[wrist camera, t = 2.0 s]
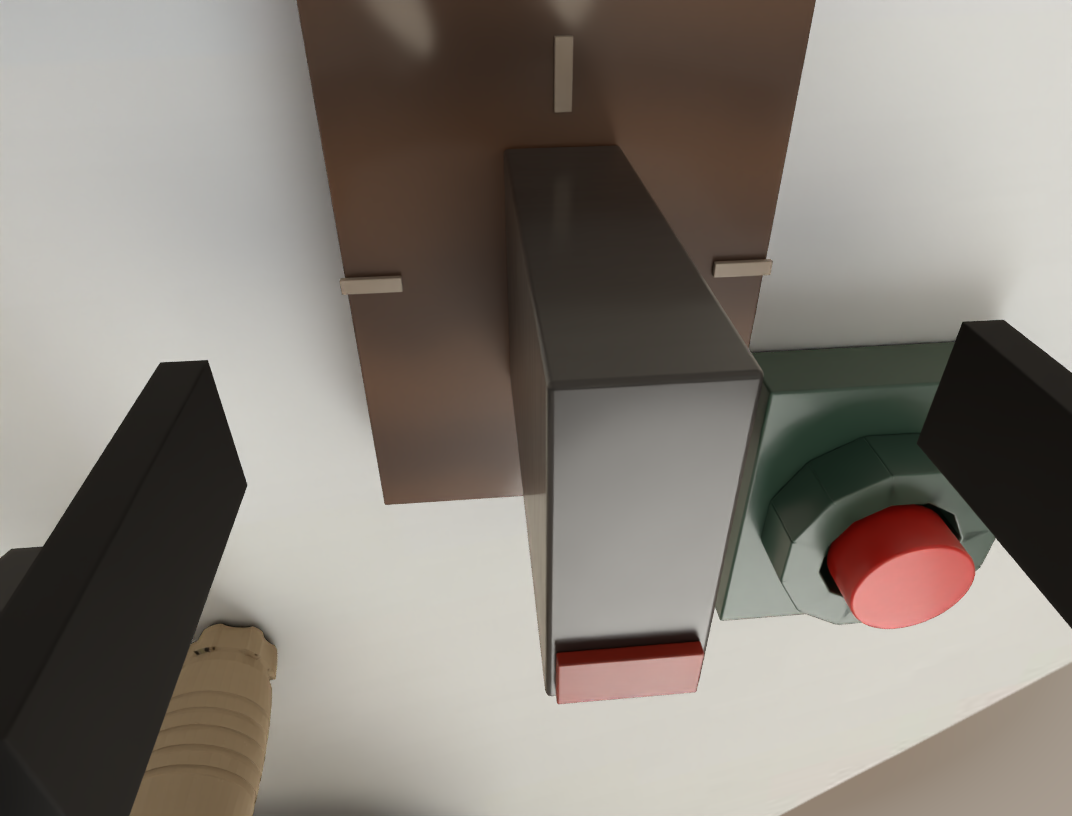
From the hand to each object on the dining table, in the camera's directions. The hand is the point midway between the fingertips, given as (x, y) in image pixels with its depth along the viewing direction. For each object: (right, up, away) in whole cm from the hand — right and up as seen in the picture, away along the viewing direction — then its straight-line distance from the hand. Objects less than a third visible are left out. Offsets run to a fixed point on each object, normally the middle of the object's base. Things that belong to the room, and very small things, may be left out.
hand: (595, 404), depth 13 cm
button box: (+9, -2, +12) cm, 15 cm away
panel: (-1, +4, +6) cm, 8 cm away
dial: (0, +3, +4) cm, 5 cm away
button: (+10, -4, +9) cm, 14 cm away
